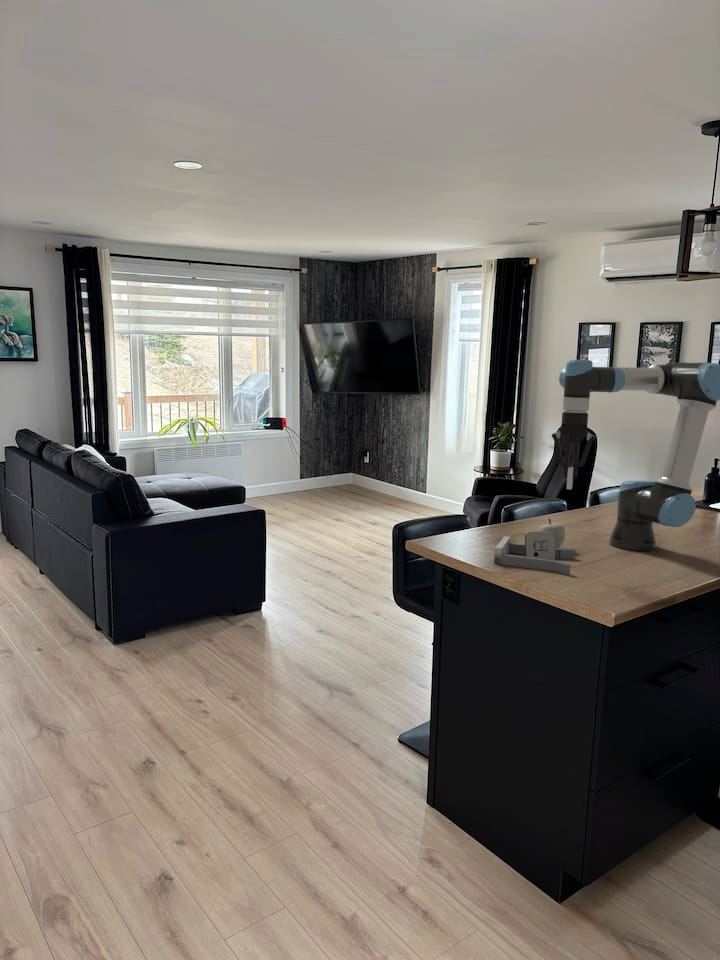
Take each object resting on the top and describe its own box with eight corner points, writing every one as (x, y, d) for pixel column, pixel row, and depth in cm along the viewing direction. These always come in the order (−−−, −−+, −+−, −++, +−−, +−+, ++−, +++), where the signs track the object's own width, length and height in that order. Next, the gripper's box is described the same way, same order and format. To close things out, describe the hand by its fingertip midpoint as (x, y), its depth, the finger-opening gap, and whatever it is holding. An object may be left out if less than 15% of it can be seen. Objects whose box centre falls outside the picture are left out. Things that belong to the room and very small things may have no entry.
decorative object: (562, 552, 236) (565, 523, 234) (536, 549, 238) (538, 520, 237) (564, 546, 244) (567, 518, 242) (538, 543, 247) (541, 515, 245)
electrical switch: (528, 561, 223) (529, 532, 223) (521, 558, 228) (522, 530, 228) (555, 561, 225) (556, 532, 225) (548, 558, 230) (549, 529, 230)
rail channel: (575, 557, 229) (576, 542, 228) (569, 575, 210) (570, 558, 209) (504, 549, 237) (505, 534, 237) (492, 565, 218) (493, 549, 217)
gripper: (598, 412, 214) (592, 488, 218) (554, 409, 218) (548, 484, 222) (597, 413, 207) (590, 492, 211) (551, 411, 212) (546, 488, 215)
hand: (569, 488), depth 217 cm, fingers closed
